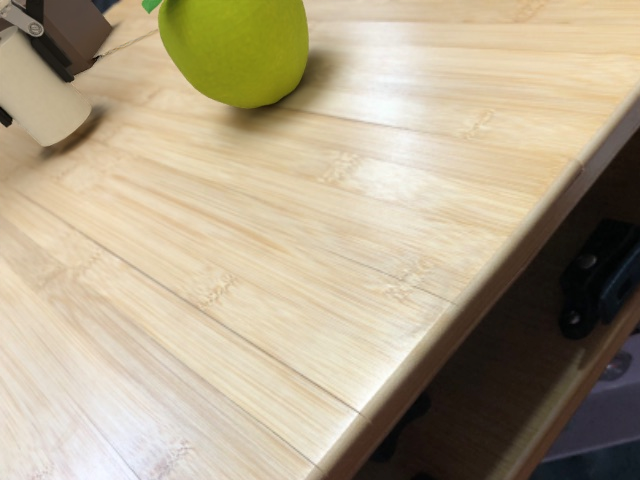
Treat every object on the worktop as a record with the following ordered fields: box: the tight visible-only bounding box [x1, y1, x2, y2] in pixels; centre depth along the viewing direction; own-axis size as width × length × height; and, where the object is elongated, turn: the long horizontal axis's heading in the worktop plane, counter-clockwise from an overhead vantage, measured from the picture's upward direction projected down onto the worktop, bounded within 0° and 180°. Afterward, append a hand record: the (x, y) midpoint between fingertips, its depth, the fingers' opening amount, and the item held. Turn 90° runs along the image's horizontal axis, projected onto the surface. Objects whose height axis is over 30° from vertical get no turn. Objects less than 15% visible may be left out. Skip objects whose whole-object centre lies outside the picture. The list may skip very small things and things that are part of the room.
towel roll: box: [0, 26, 92, 147], centre depth 54 cm, size 6×6×8 cm
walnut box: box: [0, 0, 114, 76], centre depth 70 cm, size 8×8×8 cm
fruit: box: [141, 0, 310, 109], centre depth 41 cm, size 9×9×10 cm
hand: (38, 97), depth 54 cm, fingers closed on towel roll, 5 cm apart
